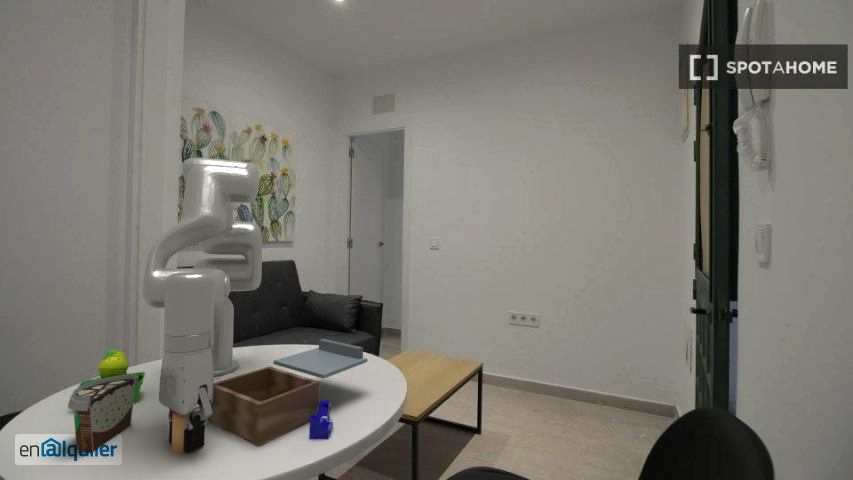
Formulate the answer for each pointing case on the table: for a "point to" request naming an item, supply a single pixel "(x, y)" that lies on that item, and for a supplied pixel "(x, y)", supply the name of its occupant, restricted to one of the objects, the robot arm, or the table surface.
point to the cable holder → (321, 422)
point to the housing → (264, 404)
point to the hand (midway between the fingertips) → (186, 443)
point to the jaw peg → (179, 431)
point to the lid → (324, 359)
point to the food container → (102, 410)
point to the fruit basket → (116, 370)
